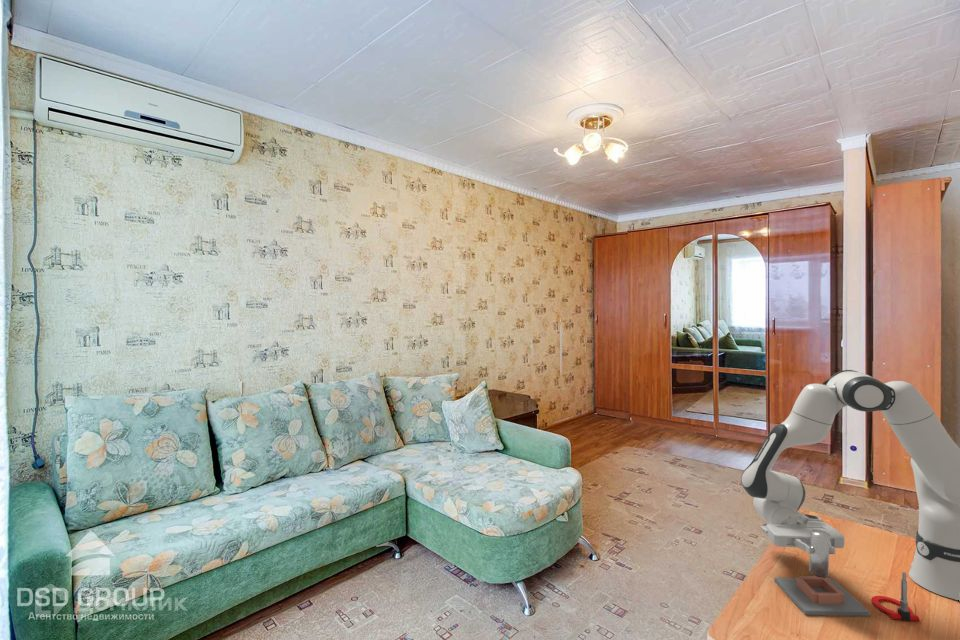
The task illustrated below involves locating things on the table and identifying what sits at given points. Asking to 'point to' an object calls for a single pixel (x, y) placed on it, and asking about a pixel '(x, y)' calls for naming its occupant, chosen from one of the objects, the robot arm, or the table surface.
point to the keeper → (820, 596)
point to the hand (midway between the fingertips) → (822, 551)
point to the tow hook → (904, 610)
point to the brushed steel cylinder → (820, 553)
